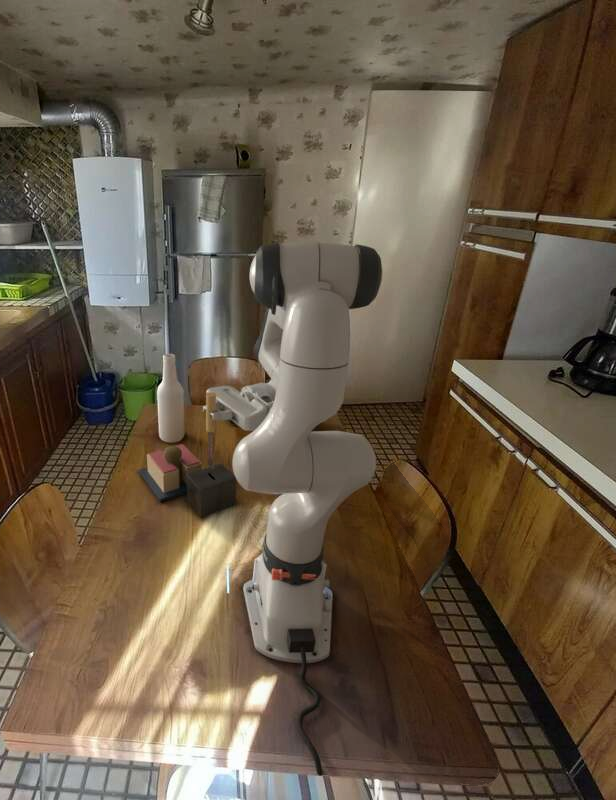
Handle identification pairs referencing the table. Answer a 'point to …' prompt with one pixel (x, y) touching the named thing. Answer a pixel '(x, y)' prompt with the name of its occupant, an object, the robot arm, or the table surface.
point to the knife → (210, 426)
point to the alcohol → (170, 403)
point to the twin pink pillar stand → (169, 473)
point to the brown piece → (174, 458)
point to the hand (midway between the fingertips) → (208, 413)
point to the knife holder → (211, 490)
